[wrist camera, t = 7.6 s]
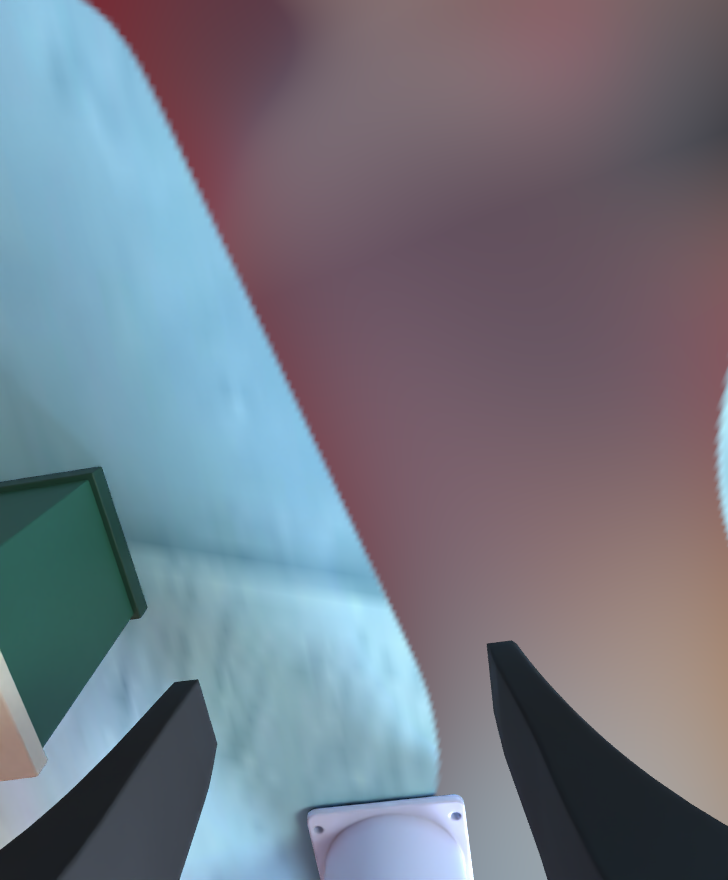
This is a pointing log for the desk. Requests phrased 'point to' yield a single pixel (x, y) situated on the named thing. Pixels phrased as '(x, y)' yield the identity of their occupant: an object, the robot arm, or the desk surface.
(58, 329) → the desk surface
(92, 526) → the green and cream block
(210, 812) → the desk surface
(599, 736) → the robot arm
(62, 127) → the desk surface
